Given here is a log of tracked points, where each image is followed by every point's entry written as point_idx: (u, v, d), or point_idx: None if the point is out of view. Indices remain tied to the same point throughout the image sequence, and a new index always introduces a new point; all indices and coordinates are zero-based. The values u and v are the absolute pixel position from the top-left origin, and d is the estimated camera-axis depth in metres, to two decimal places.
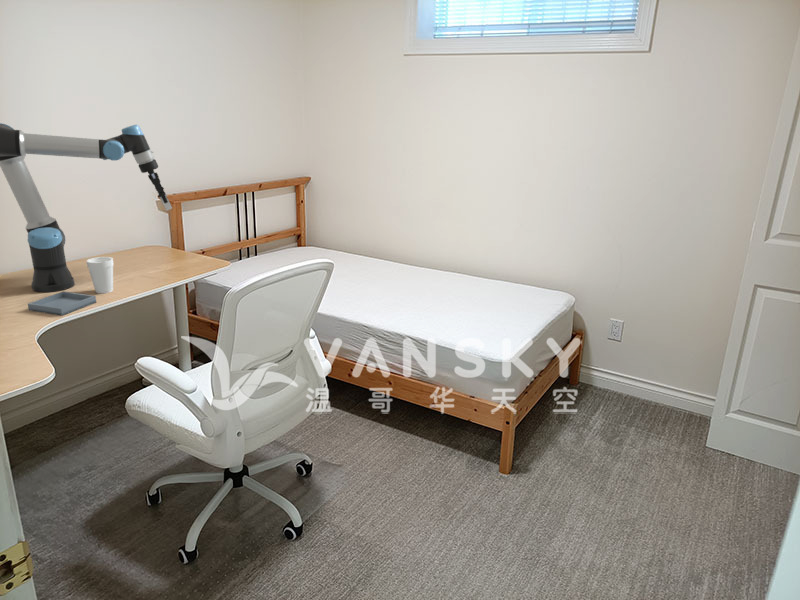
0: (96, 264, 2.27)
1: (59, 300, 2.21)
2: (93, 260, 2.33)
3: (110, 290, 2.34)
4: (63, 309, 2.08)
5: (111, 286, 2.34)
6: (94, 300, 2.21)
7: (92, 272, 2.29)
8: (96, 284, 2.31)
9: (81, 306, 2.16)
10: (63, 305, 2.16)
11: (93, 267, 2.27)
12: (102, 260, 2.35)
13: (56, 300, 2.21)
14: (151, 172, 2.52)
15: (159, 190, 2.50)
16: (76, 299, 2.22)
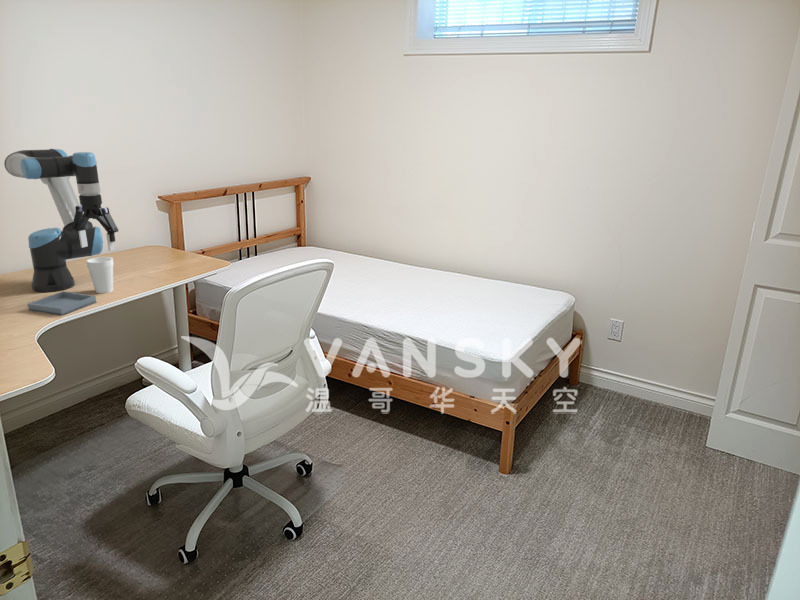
0: (96, 264, 2.27)
1: (59, 300, 2.21)
2: (93, 260, 2.33)
3: (110, 290, 2.34)
4: (63, 309, 2.08)
5: (111, 286, 2.34)
6: (94, 300, 2.21)
7: (92, 272, 2.29)
8: (96, 284, 2.31)
9: (81, 306, 2.16)
10: (63, 305, 2.16)
11: (93, 267, 2.27)
12: (102, 260, 2.35)
13: (56, 300, 2.21)
14: None
15: None
16: (76, 299, 2.22)
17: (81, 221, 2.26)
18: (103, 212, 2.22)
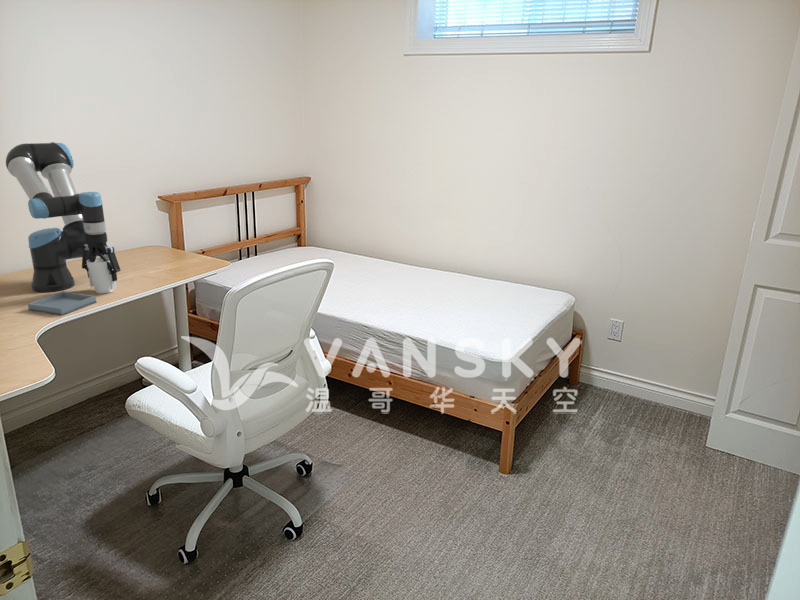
0: (96, 264, 2.27)
1: (59, 300, 2.21)
2: None
3: (110, 290, 2.34)
4: (63, 309, 2.08)
5: None
6: (94, 300, 2.21)
7: (92, 272, 2.29)
8: (96, 284, 2.31)
9: (81, 306, 2.16)
10: (63, 305, 2.16)
11: (93, 267, 2.27)
12: (102, 260, 2.35)
13: (56, 300, 2.21)
14: None
15: None
16: (76, 299, 2.22)
17: None
18: (108, 252, 2.27)
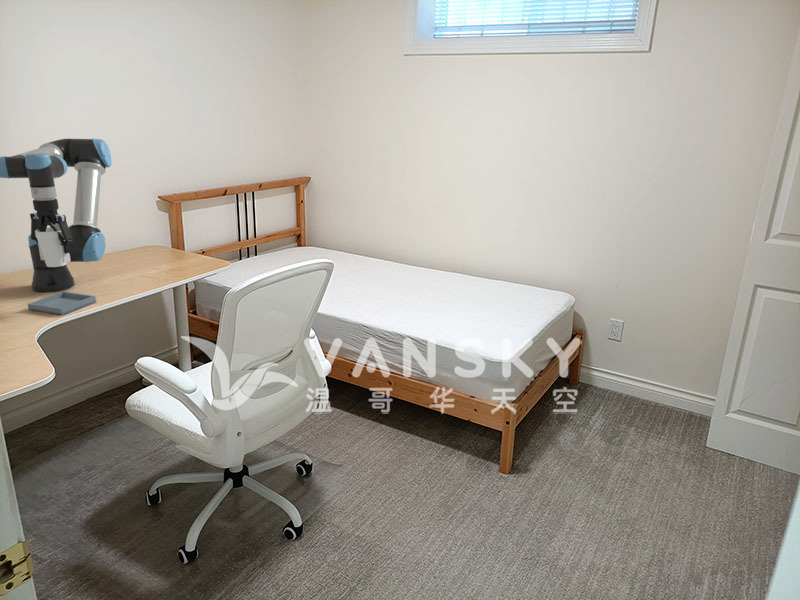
0: (45, 233, 2.04)
1: (59, 300, 2.21)
2: None
3: (62, 264, 2.11)
4: (63, 309, 2.08)
5: None
6: (94, 300, 2.21)
7: (41, 243, 2.06)
8: (46, 257, 2.08)
9: (81, 306, 2.16)
10: (63, 305, 2.16)
11: (42, 237, 2.04)
12: (54, 231, 2.12)
13: (56, 300, 2.21)
14: None
15: None
16: (76, 299, 2.22)
17: None
18: (59, 220, 2.04)
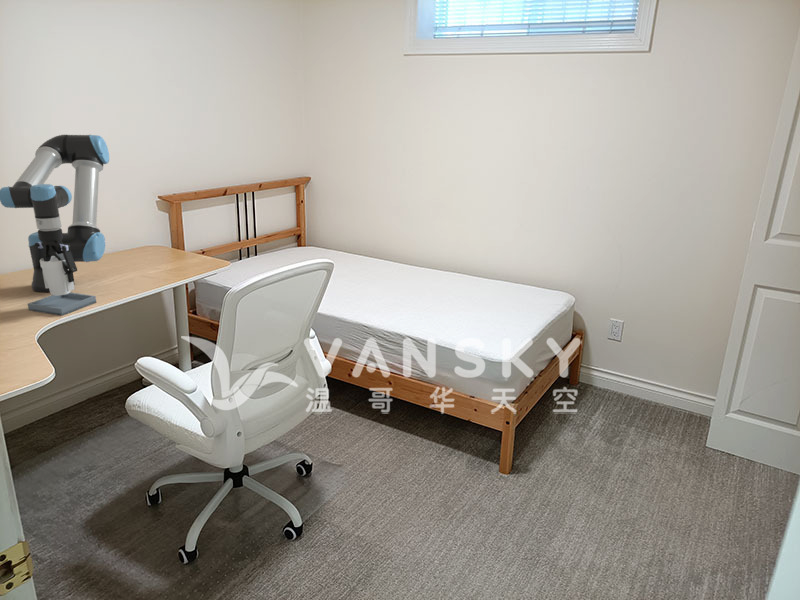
0: (50, 263, 2.07)
1: (59, 300, 2.21)
2: None
3: (66, 292, 2.14)
4: (63, 309, 2.08)
5: None
6: (94, 300, 2.21)
7: (46, 272, 2.09)
8: (51, 285, 2.11)
9: (81, 306, 2.16)
10: (63, 305, 2.16)
11: (47, 267, 2.07)
12: None
13: (56, 300, 2.21)
14: None
15: None
16: (76, 299, 2.22)
17: None
18: (63, 250, 2.07)
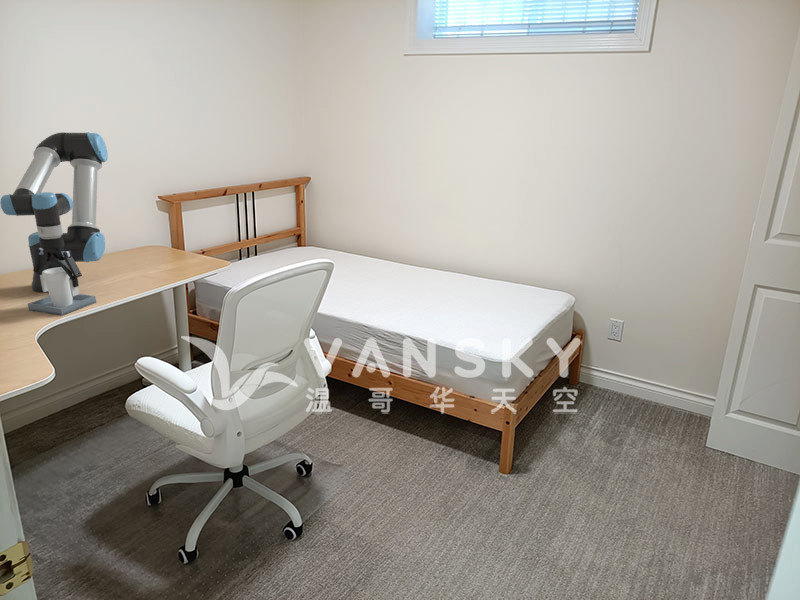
0: (52, 275, 2.09)
1: None
2: (50, 271, 2.15)
3: (69, 303, 2.16)
4: (63, 309, 2.08)
5: (70, 299, 2.16)
6: (94, 300, 2.21)
7: (48, 284, 2.11)
8: (53, 297, 2.13)
9: (81, 306, 2.16)
10: None
11: (49, 279, 2.09)
12: (60, 271, 2.17)
13: None
14: None
15: None
16: (76, 299, 2.22)
17: (42, 265, 2.13)
18: (65, 256, 2.08)
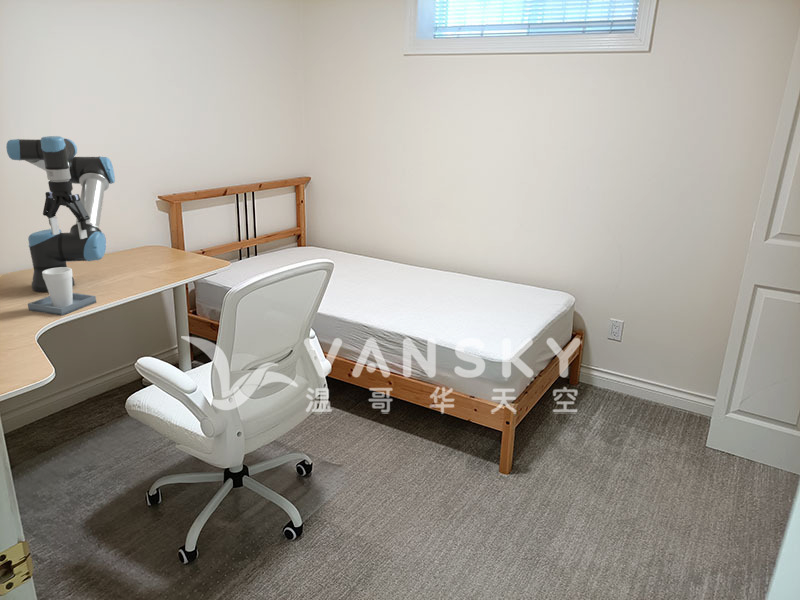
0: (52, 275, 2.09)
1: None
2: (50, 271, 2.15)
3: (69, 303, 2.16)
4: (63, 309, 2.08)
5: (70, 299, 2.16)
6: (94, 300, 2.21)
7: (48, 284, 2.10)
8: (53, 297, 2.13)
9: (81, 306, 2.16)
10: None
11: (49, 279, 2.09)
12: (60, 271, 2.17)
13: None
14: None
15: None
16: (76, 299, 2.22)
17: (52, 208, 2.19)
18: (73, 199, 2.14)
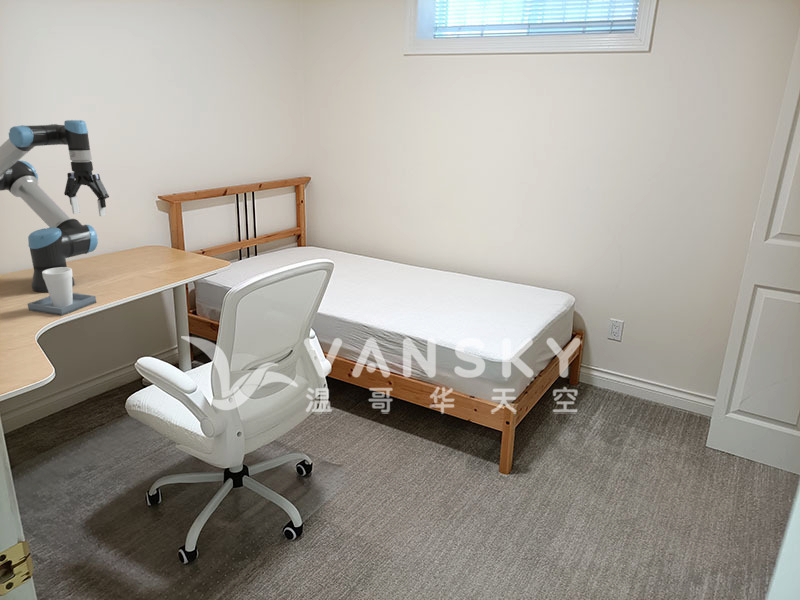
0: (52, 275, 2.09)
1: None
2: (50, 271, 2.15)
3: (69, 303, 2.16)
4: (63, 309, 2.08)
5: (70, 299, 2.16)
6: (94, 300, 2.21)
7: (48, 284, 2.10)
8: (53, 297, 2.13)
9: (81, 306, 2.16)
10: None
11: (49, 279, 2.09)
12: (60, 271, 2.17)
13: None
14: None
15: None
16: (76, 299, 2.22)
17: (73, 187, 2.34)
18: (94, 178, 2.30)
